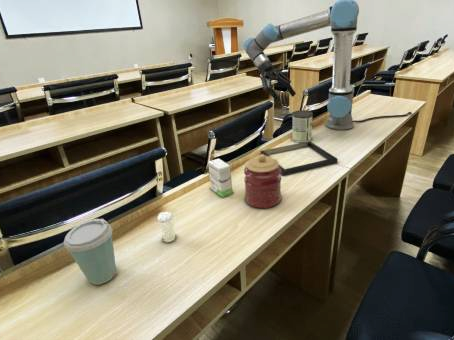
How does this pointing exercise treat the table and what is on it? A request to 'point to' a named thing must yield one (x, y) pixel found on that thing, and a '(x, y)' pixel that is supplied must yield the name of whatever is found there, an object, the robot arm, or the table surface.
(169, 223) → the salt shaker
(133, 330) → the table surface
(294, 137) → the coffee can
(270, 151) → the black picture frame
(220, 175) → the ink box
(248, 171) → the kitchen canister
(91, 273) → the disposable coffee cup
